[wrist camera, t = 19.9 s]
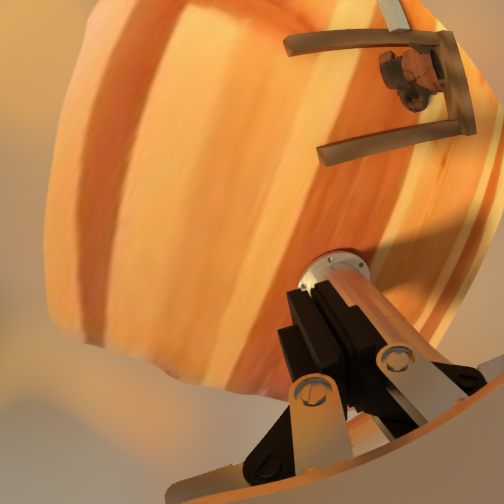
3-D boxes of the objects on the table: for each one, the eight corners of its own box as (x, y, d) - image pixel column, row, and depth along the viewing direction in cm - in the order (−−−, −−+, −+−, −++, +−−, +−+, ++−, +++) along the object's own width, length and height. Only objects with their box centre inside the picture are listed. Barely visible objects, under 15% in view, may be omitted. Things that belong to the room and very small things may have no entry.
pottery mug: (373, 37, 31) (422, 27, 24) (402, 66, 37) (444, 61, 30) (377, 103, 32) (432, 98, 26) (405, 127, 38) (452, 126, 32)
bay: (459, 131, 38) (476, 134, 33) (320, 164, 37) (333, 168, 33) (435, 35, 30) (452, 31, 26) (282, 41, 30) (291, 31, 26)
